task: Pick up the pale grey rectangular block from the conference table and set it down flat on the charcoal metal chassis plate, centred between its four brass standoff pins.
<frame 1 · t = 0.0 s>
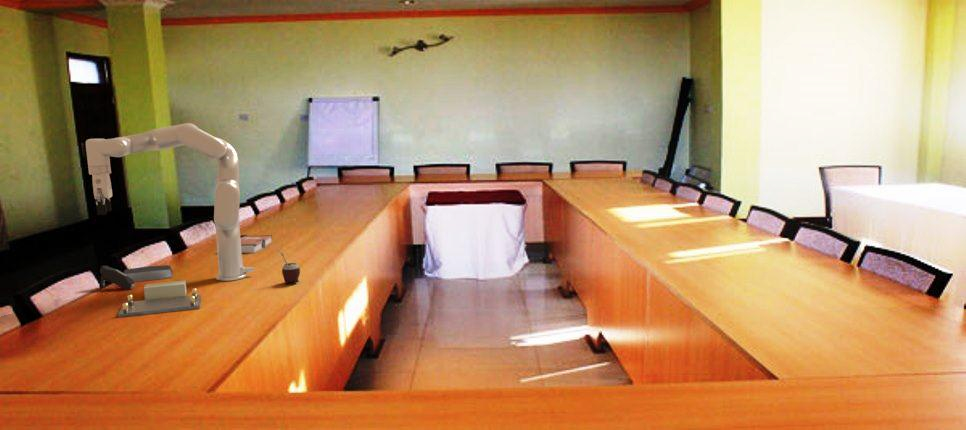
hand: (104, 213, 253), 31 cm above the table, fingers open, 9 cm apart
book: (248, 249, 334), on the table
pale grey rectangular block: (166, 296, 247), on the table
chassis: (161, 307, 232), on the table
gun: (118, 289, 258), on the table
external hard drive: (147, 278, 275), on the table
mate gourd: (290, 283, 263), on the table
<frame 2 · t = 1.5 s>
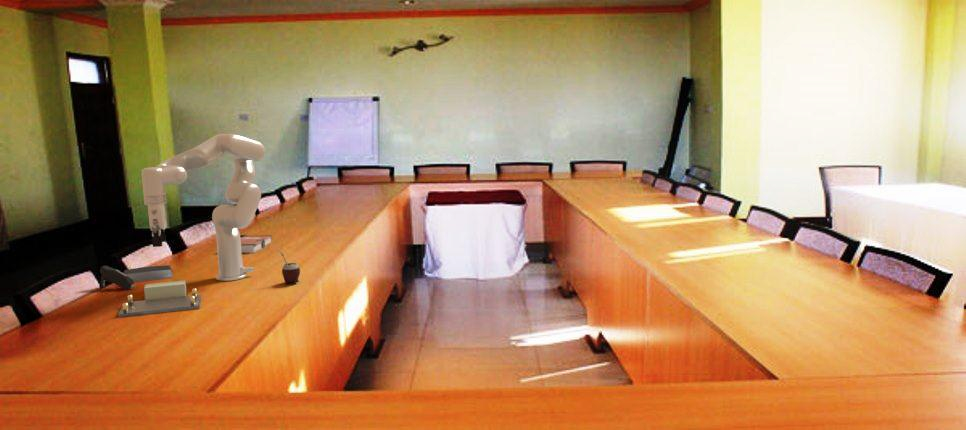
hand: (159, 244, 244), 21 cm above the table, fingers open, 9 cm apart
nothing on the table moved.
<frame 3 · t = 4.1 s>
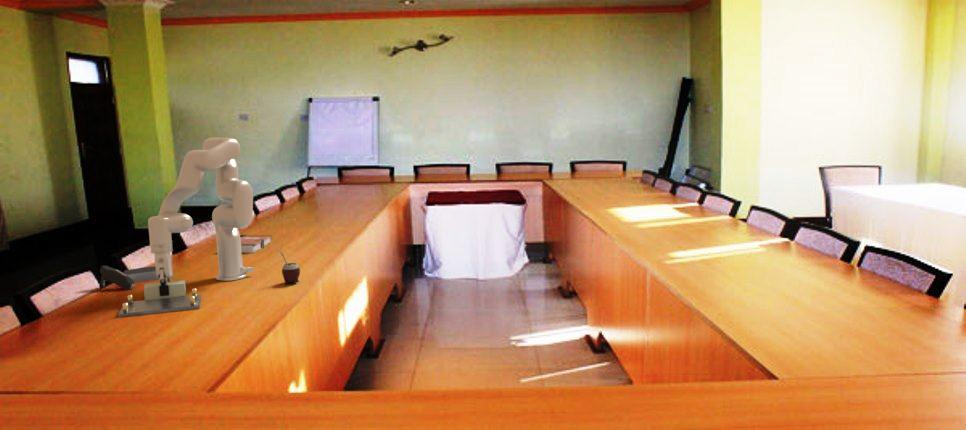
hand: (165, 292, 246), 1 cm above the table, fingers closed on pale grey rectangular block, 6 cm apart
pale grey rectangular block: (165, 296, 246), on the table, touching gripper
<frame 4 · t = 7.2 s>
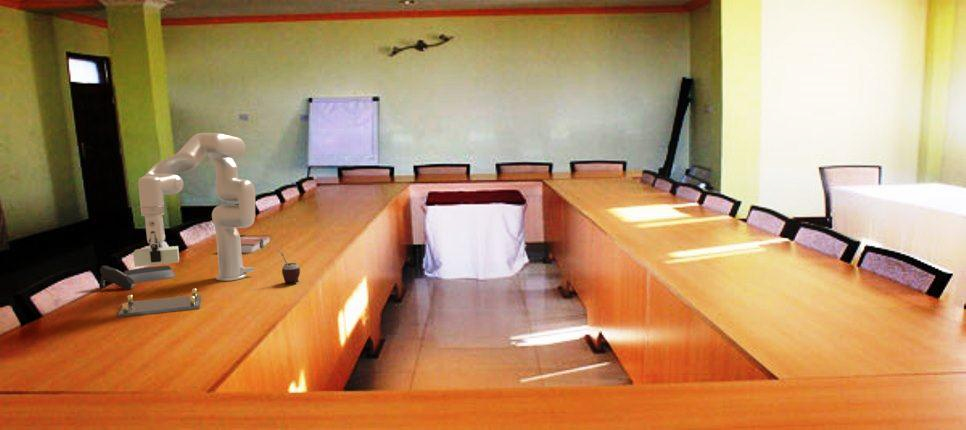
hand: (157, 259, 230), 18 cm above the table, fingers closed on pale grey rectangular block, 6 cm apart
pale grey rectangular block: (157, 262, 230), point 17 cm above the table, touching gripper
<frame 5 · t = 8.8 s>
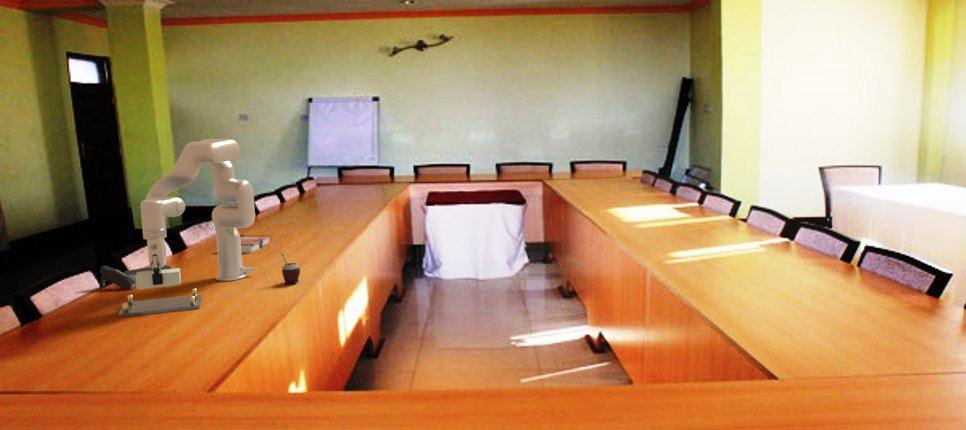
hand: (159, 281, 231), 10 cm above the table, fingers closed on pale grey rectangular block, 6 cm apart
pale grey rectangular block: (159, 285, 231), point 8 cm above the table, touching gripper
when the fingers open (4 cm above the table, at t = 10.4 s): pale grey rectangular block drops 1 cm, resting on chassis.
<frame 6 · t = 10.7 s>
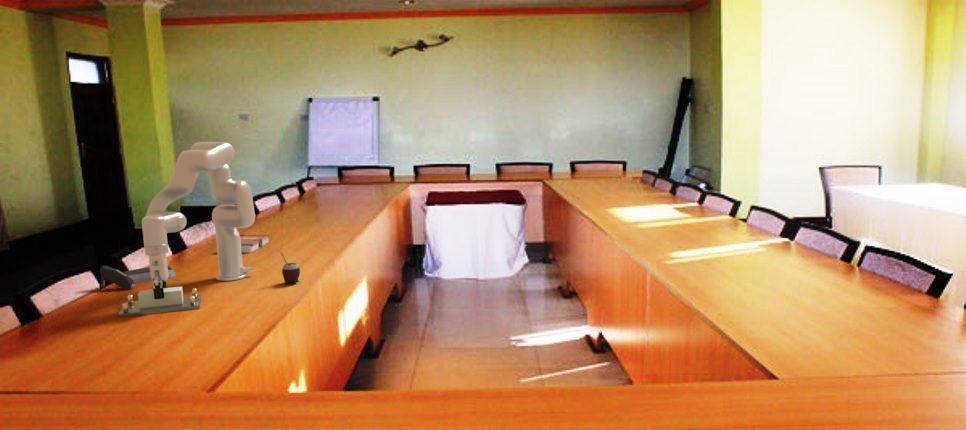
hand: (160, 295, 232), 4 cm above the table, fingers open, 9 cm apart
pale grey rectangular block: (161, 303, 232), point 1 cm above the table, touching chassis
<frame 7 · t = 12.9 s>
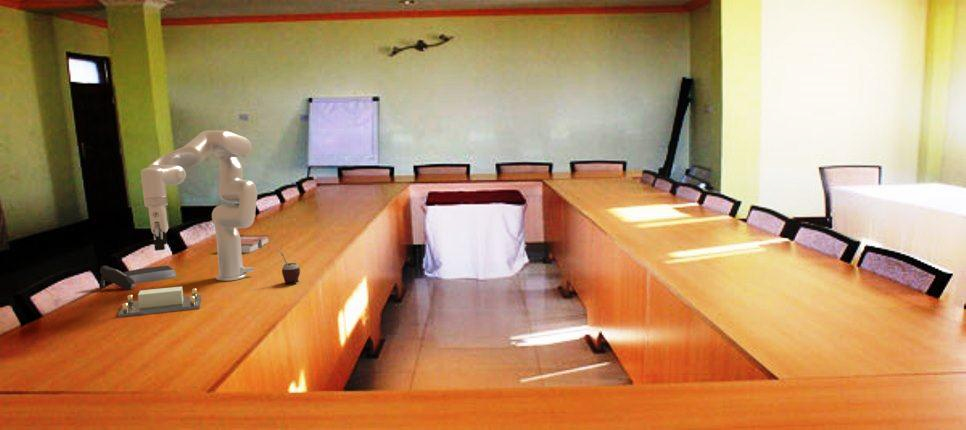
hand: (161, 247, 234), 21 cm above the table, fingers open, 9 cm apart
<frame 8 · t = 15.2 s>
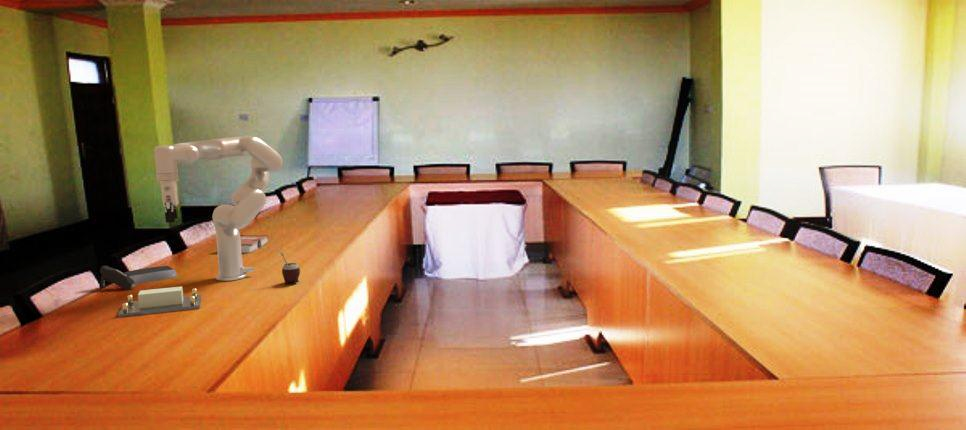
hand: (171, 220, 251), 28 cm above the table, fingers open, 9 cm apart
at the end: pale grey rectangular block 0.1 cm off-centre on the chassis, point 1.2 cm above the chassis's base; pale grey rectangular block tilted 0°; the gripper is holding nothing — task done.
